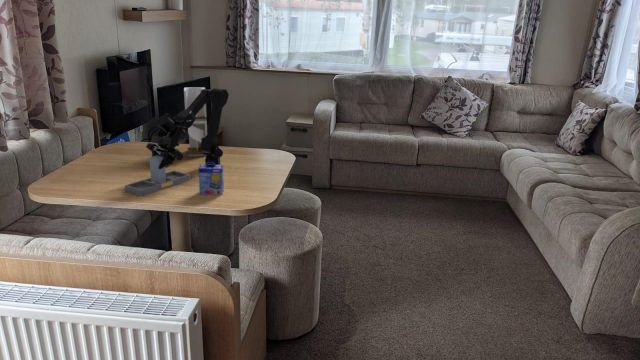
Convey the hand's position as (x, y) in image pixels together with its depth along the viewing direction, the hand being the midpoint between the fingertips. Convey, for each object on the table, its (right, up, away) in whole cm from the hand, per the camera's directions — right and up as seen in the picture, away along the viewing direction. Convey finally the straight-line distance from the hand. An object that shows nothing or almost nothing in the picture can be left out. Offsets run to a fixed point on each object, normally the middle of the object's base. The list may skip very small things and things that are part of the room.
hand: (155, 167), depth 215 cm
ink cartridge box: (+26, -11, -3) cm, 28 cm away
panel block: (+1, -6, +3) cm, 7 cm away
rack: (0, -8, +4) cm, 9 cm away
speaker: (-6, +2, +33) cm, 34 cm away
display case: (+5, +9, +54) cm, 55 cm away
